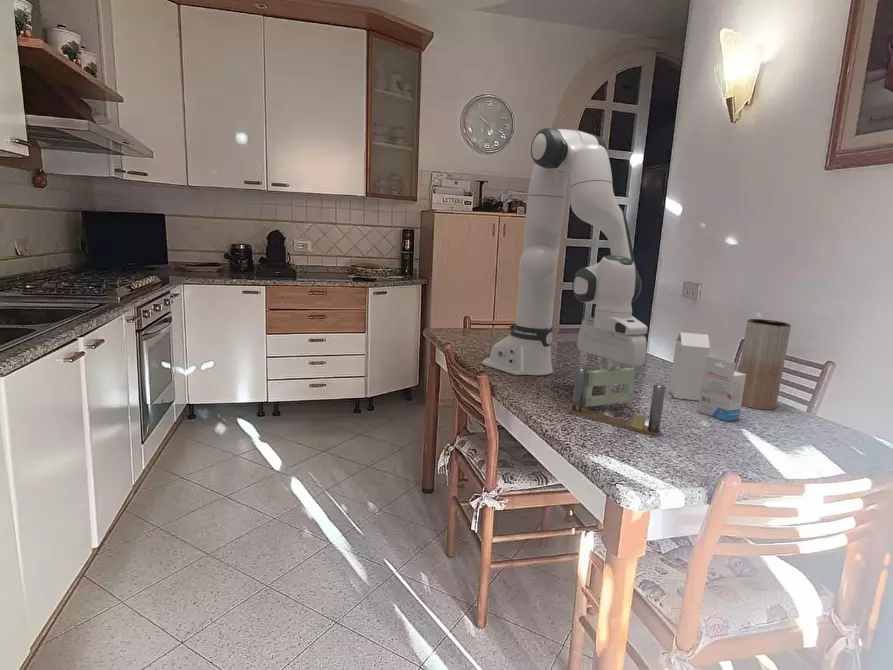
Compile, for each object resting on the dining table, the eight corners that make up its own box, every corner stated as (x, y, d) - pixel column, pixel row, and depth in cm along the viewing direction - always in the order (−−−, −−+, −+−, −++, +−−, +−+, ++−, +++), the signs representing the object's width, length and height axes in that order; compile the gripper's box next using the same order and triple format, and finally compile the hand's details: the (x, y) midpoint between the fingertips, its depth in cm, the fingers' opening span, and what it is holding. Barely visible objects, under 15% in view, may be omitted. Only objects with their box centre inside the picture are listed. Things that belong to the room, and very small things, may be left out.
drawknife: (568, 412, 131) (573, 368, 129) (574, 409, 134) (579, 366, 132) (656, 436, 119) (663, 388, 117) (661, 433, 121) (667, 385, 119)
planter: (784, 410, 143) (800, 326, 139) (748, 409, 142) (763, 324, 138) (760, 399, 153) (774, 319, 149) (726, 397, 152) (739, 318, 148)
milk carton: (701, 401, 147) (712, 333, 143) (674, 398, 148) (683, 330, 145) (695, 394, 154) (705, 328, 150) (668, 391, 155) (678, 326, 152)
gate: (585, 406, 132) (589, 372, 130) (581, 404, 133) (585, 371, 131) (631, 401, 138) (635, 369, 137) (627, 399, 140) (631, 367, 138)
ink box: (739, 420, 133) (749, 362, 131) (726, 422, 131) (736, 363, 128) (710, 409, 141) (718, 354, 138) (696, 411, 139) (705, 355, 136)
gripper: (574, 315, 143) (569, 366, 145) (634, 329, 125) (627, 387, 128) (592, 314, 146) (587, 364, 148) (653, 328, 128) (646, 384, 131)
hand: (606, 375), depth 138 cm, fingers closed
